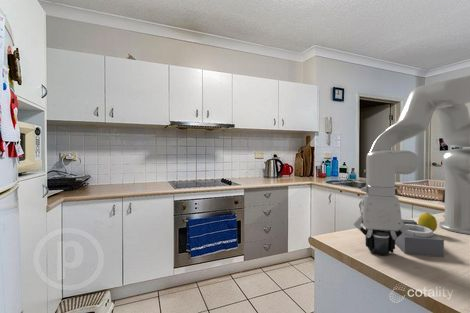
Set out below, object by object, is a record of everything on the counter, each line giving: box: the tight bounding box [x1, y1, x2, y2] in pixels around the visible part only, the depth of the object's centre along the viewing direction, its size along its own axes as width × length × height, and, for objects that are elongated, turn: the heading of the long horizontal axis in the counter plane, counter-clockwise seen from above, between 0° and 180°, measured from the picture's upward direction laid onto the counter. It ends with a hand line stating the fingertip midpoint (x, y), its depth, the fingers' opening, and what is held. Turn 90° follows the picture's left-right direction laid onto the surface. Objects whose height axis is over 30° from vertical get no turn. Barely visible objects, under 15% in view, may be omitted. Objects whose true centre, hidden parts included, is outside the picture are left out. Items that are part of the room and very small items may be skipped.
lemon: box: [417, 212, 438, 233], centre depth 89 cm, size 6×6×8 cm
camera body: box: [395, 218, 445, 258], centre depth 79 cm, size 16×10×6 cm, turn 165°
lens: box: [370, 230, 391, 257], centre depth 74 cm, size 5×5×7 cm
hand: (379, 249), depth 74 cm, fingers closed on lens, 5 cm apart
